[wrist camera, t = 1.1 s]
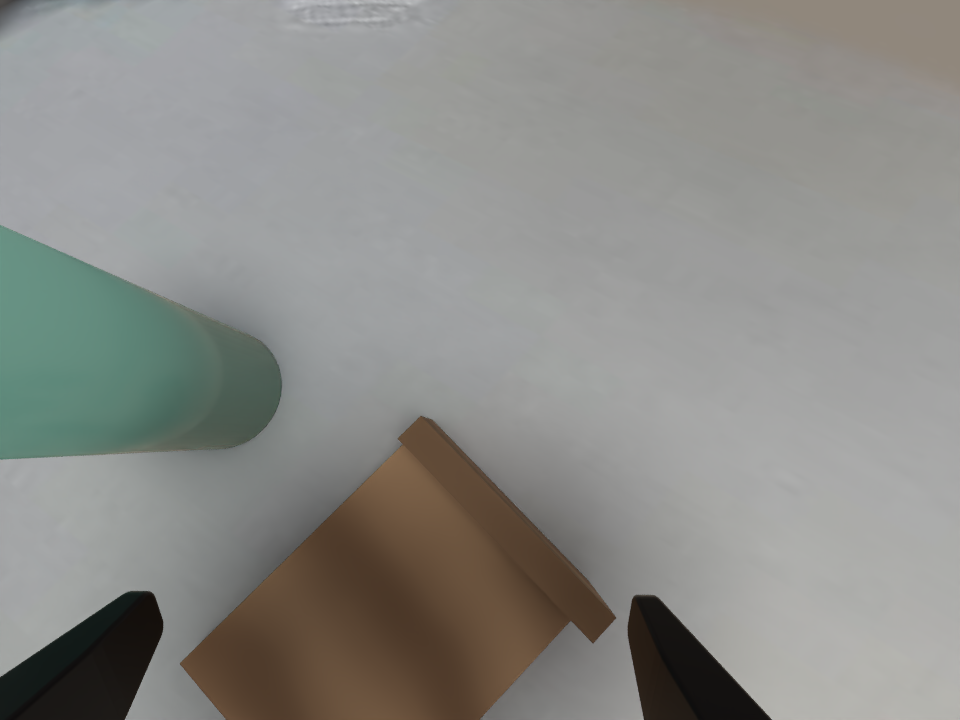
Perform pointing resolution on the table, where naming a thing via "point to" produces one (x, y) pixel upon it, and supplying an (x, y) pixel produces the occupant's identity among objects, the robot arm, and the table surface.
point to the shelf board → (400, 602)
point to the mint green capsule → (117, 364)
